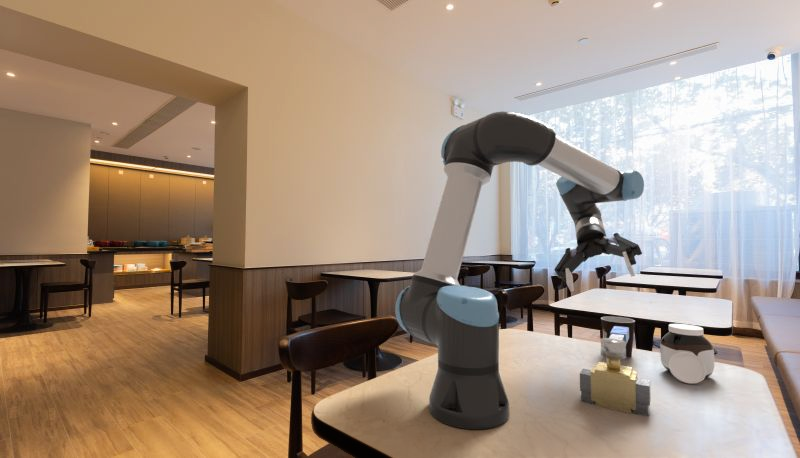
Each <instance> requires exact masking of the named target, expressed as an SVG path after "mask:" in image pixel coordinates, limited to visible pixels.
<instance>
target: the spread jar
mask: <svg viewBox="0 0 800 458" xmlns="http://www.w3.org/2000/svg"><path fill="white" fill-rule="evenodd" d="M704 335H705V334H704V328H703V327H701V326H699V325H693V324H692V325H691V324H687V323H686V324H685V323H684V324H683V323H669V324H668V332H667V333H666V334H664V336H662V338H661V340H660V345H659V346H660V347H659V348H660V350H659V351H660V353H659V355H660V361H661V364H662V366H663V367H664V369H665V370H667V372H669V373H670V374H671V375H673V377H674V378H675V379H677V380H678V381H680V382H682V383H684V384H689V385H690V384H699V383H700V382H702V381H703V380H705V379H707V378H709V377H710V376H711V375H712V374H713V373H714V370H715V351H714V347H713V345H712V343H711V341H709V339H707V338H706V337H705V336H704Z"/></svg>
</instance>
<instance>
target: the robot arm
mask: <svg viewBox="0 0 800 458" xmlns="http://www.w3.org/2000/svg"><path fill="white" fill-rule="evenodd" d="M440 155H441V159H443V161H442V163H443V165H444V167H443V172H444V173H445V175H446V176H447V179H446V181H445V186H444V189H443V192H442V196H441V199H440V203H439V206H438V209H437V210H438V211H437V213H436V218H435V221H434V224H433V227H432V231H431V234H430V238H429V242H428V245H427V249H426V252H425V256H424V258H423V259H424V260H423V261H422V266H421V269H419V270H418V271H416V272H415V273H413V274H412V277H411V281H410V284H409V286H406V287H405V288H404V289H402V290H401V292H400V293H399V294H398V296H397V298H396V301H395V308H394V309H395V310H394V313H395V318H396V320H397V322H398V324H399V326H400V327H401V328H402V329H403V330H404V331H405V332H406V334H407V333H408V334H409V335H410V336H411V337H413V338H414V339H419V340H423V341H425V342H427V343H430V344H432V345H434V346H437V371H436V374H435V378H434V381H433V385H432V388H431V391H430V394H429V405H428V406H429V407H428V409H429V413H430V414H431V416H432V417H434V418H435V419H436V420H438V421H439V422H441V423H442V424H445V425H448V426H450V427H454V428H459V429H466V430H485V429H487V430H488V429H491V428H496V427H499V426H501V425H503V424H504V423H505V422H506V421H507V420H508V419H509V417H510V404H509V403H510V402H509V399H508V395H507V393H506V390H505V387H504V383H503V381H502V377H501V374H500V366H499V365H500V363H499V361H500V360H499V355H500V353H499V350H500V349H499V346H500V339H499V334H500V331H499V330H500V324H499V323H500V313H499V310H498V299H497V298H496V296H495V295H494V294H493V293H492V292H490V291H489V290H488V291H487V290H486V289H483V288H479V287H474V286H468V285H461V284H460V282H459V280H458V277H459V274H460V270H461V265H462V262H463V258H464V255H465V251H466V247H467V243H468V238H469V235H470V233H471V232H470V231H471V228H472V225H473V224H472V223H473V220H474V218H475V213H476V208H477V206H478V201H479V198H480V195H481V190H482V187H483V186H484V185H486V184H487V183H489V182H490V180H491V177H492V173H493V170H494V168H495V166H499V165H501V164H505V163H512V162H513V163H514V162H515V163H522V164H524V165H527V166H530V167H531V166H532V167H533V166H539V167H542V168H543V169H546V170H548V171H550V172H551V173H553V174H556V175H558V176H560V177H559V178H558V179H557V180H556V182H555V183H556V185H555V186H556V188H557V190H558V192H559V196H560V197H561V200H562V201H563V202H564V205H565V208H566V209H567V211H568V214H569V216H570V217H571V219H572V221H573V223H574V227H575V237H576V245H577V246H576V247H575V248H573V249H571V247H567V248H565V251H564V253H563V255H562V257H561V258H560V260H559V262H558V263H557V264H556V266H555V267H554V271H555V274H556V276H557V277H558V278H562V280H563V281H564V283H566V285H567V287H568V289H569V292H570V293H572V292H575V287H574V277H573V276H574V275H573V274H572V273H574V271H575V270H576V269H577V268H578V267H580V265H582V263H585V262H586V261H587V260H588V259H591V258H593V257H595V256H596V257H597V256H600V255H602V254H605V255H613V256H618V257H622V258H623V259H624V262H625V265H626V268H627V270H628V273H629V274H630V276H631V278H632V277H635V276H636V274H635V272H634V268H633V266H634V265H637V261H636V258H635V257H636V256H641V255H643V252H642V250H641V247H640V245H639V244H638V243H636V242H633V241H631V240H629V239H628V238H625V237H622V236H620V234H619V233H618V232H614V233H613V234H612V235H613V236H612V237H610V238H608V237H607V233H606V229H605V226H604V223H603V219H602V213H601V210H600V209H599V207H598V205H597V204H601V203H612V202H623V201H624V202H626V201H629V200H630V201H631V200H636V199H638V198H640V197H642V194H643V193H644V190H645V189H644V188H645V180H644V178H643V175H642V174H641V172H639V171H638V170H635V169H634V170H625V171H620V170H618V169H616V168H615V167H613V166H611V165H609V164H607V163H606V162H604V161H602V160H601V159H599V158H597V157H595V156H594V155H591V154H590V153H588V152H586V151H585V150H583V149H581V148H579V147H577V146H576V145H574V144H572V143H570V142H568V141H566V140H565V139H563V138H561V136H558V135H557V133H556V131H555V129H554V128H553V127H552V126H551V125H548V124H547V123H545V122H543V121H541V120H539V119H537V118H534V117H531V116H528V115H525V114H522V113H517V112H513V111H494V112H492V113H489V114H486V115H485V116H483V117H480V118H478V119H476V120H473V121H471V122H469V123H467V124H462V125H460V126H459V127H457V128H455V129H454V130H452V131H451V132H449V133H448V134H447V136H445V138H444V140H443V142H442V145H441V150H440Z"/></svg>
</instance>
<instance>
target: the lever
mask: <svg viewBox="0 0 800 458" xmlns="http://www.w3.org/2000/svg"><path fill="white" fill-rule="evenodd" d="M628 339H629V327H620V326H614V327H613V329H612V330H611V332H610V337H609V338H604V337H602V338H601V339H600V356H602V357H604V358H606V359H607V358H611V359H620V360H625V359H626V344H627V342H628Z"/></svg>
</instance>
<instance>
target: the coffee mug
mask: <svg viewBox="0 0 800 458" xmlns="http://www.w3.org/2000/svg"><path fill="white" fill-rule="evenodd" d="M600 321H601V329H602V335H603V338H609V337H610V332H611V330H612V329H613V327H614V326H620V327H629V339H628V342H627V344H626V357H629V358H631V357H632V354H633V346H634V335H635V329H636V320H634V319H632V318H628V317H622V316H602V317H600Z"/></svg>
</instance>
